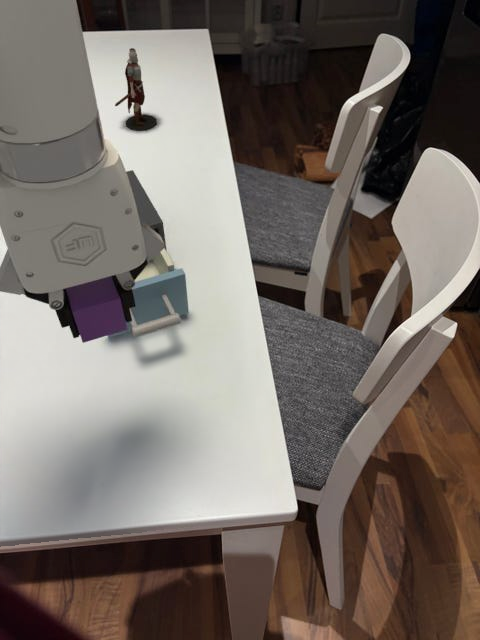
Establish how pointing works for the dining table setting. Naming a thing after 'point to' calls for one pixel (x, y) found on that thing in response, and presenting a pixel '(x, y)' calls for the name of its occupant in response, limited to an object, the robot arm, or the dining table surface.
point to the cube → (96, 308)
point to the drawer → (157, 297)
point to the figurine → (136, 96)
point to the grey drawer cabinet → (145, 206)
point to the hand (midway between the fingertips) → (99, 318)
